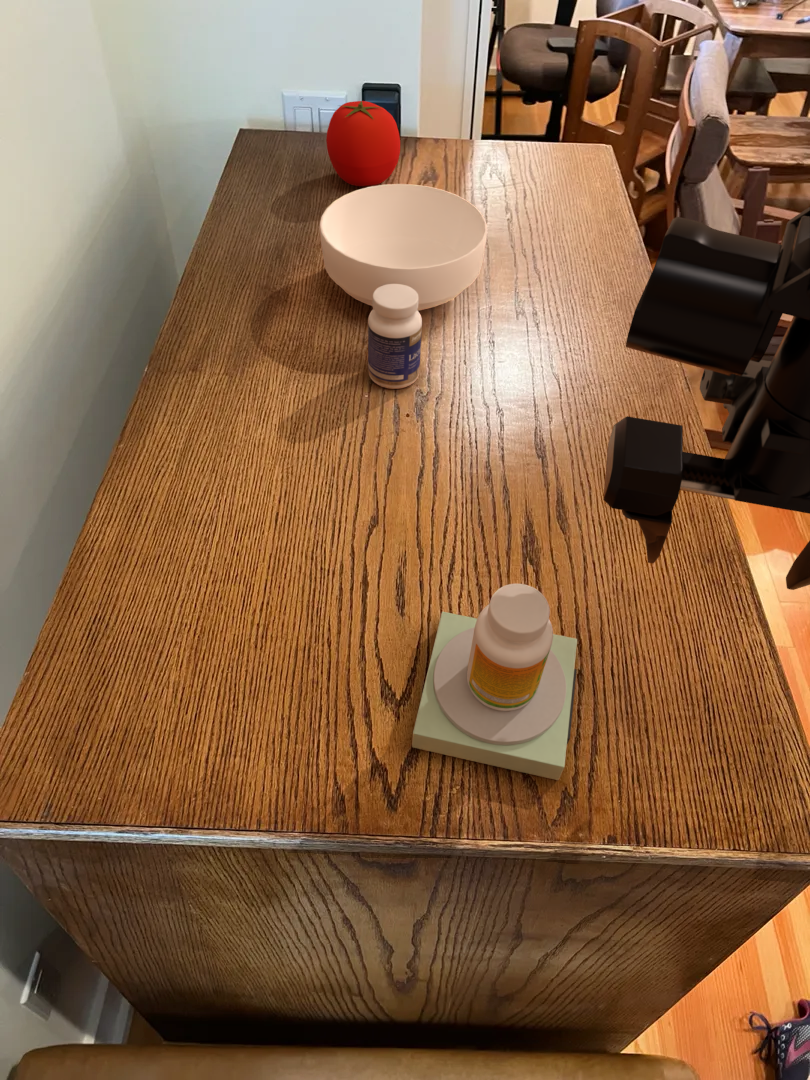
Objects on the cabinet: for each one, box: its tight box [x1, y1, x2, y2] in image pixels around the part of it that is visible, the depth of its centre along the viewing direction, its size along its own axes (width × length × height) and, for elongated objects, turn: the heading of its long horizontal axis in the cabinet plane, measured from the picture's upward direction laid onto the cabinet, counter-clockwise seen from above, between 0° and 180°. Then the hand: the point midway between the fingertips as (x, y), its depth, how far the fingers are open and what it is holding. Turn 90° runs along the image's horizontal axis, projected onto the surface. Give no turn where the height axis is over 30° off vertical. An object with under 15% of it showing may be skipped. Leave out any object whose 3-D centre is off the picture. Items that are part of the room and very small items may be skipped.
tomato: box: [325, 100, 401, 187], centre depth 110 cm, size 10×11×11 cm
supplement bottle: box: [467, 583, 554, 711], centre depth 54 cm, size 5×5×10 cm
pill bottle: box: [367, 284, 423, 390], centre depth 82 cm, size 6×6×10 cm
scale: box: [411, 611, 578, 781], centre depth 59 cm, size 11×11×3 cm
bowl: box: [319, 183, 488, 312], centre depth 93 cm, size 20×20×8 cm
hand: (719, 570), depth 52 cm, fingers open, 9 cm apart
